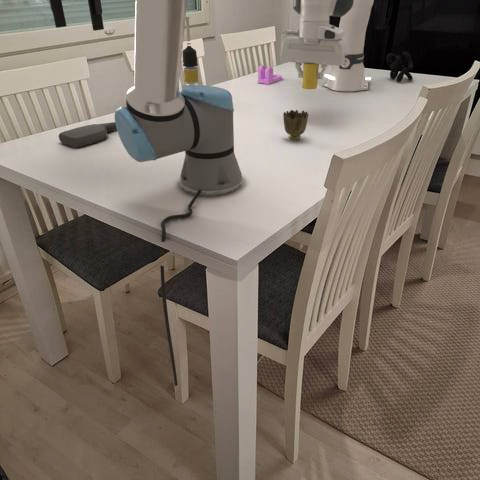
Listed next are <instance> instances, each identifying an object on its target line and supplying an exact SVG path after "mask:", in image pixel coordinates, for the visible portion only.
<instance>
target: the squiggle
mask: <svg viewBox="0 0 480 480" xmlns="http://www.w3.org/2000/svg"><path fill="white" fill-rule="evenodd" d="M401 57H402V59H401ZM391 59H392V60H391ZM393 60H394V61H393ZM385 61H386V64H387V67H390V68H391V70H390V72H389V78H390V79H391V80H395V79H396V81H397V82H399V83H400V82H402V81H403V79H404V76H406V78H407V80H408V81H412V80H413V79H414V77H413V75H412V74H411V73H410V72H409V71H410V70H412V69H413V68H414V64H413V61H412V57H411V54H410V53H409V52H408V51H403V53H402V54H401V55H396V54H394V53H392V52H390V53H387V55H386V57H385ZM406 62H407V65H408V66H407V67H405V66H404V65H405V64H406ZM400 70H401V71H400Z"/></svg>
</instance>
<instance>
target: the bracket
mask: <svg viewBox="0 0 480 480" xmlns="http://www.w3.org/2000/svg"><path fill="white" fill-rule="evenodd" d="M282 79H283V76H282V75H281V74H274V68H273V66H265V65H259V67H258V69H257V83H258V84H265V85H270V84H273V83H276V82H279V81H281V80H282Z"/></svg>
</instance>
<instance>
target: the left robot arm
mask: <svg viewBox="0 0 480 480" xmlns="http://www.w3.org/2000/svg"><path fill="white" fill-rule="evenodd" d="M48 1H49V6H50V10H51V12H52V16H53V22H54V26H55V28H65V27H67V21H66V16H65V11H64V7H63V6H64V5H63V1H62V0H48ZM87 3H88V9H89V15H90V21H91V27H92V31H103V30H105V27H104V21H103V7H102V1H101V0H87ZM187 4H188V0H135V5H134V7H135V10H134V11H135V13H134V15H135V16H134V18H135V19H134V21H135V22H134V75H133V76H134V78H133V79H134V80H133V86H131V87H130V88H129V89H128V90H127V91H126V93H125V94H126V95H125V106H120V107H119V108H117V109H116V110H115V112H114V122H115V124H116V128H117V130H116V131H117V134H118V137H119V140H120V141H121V144H122V145H123V147H124V149H125V151H126V152H127V154H128V155H129V156H130V157H131V158H132V159H133V160H134V161H136V162H139V163H146V162H150V161H157V160H159V159H161V158H166V157H169V156H172V155H176V154H179V153H183V152H184V154H185V155H184V158H183V164H182V168H181V171H180V177H179V178H180V179H179V183H180V184H179V185H180V188H181V189H182V191H184V192H186V193H187V194H190V195H194V196H193V197H192V199H191V201H190V202H189V204H188V205H187V211H188V212H186V213H183V214H174V215H173V214H172V215H169V216H166V217H165V218H164V219H162V220H161V222H160V228H161V239H160V241H161V243H164V242H166V225H165V224H166V223H167V222H169V221H171V220H176V219H185V218H188V217H190V216H192V214H193V209H192V207H193V205H194V203H195V202H196V201H197V199H198V197H221V196H224V195H229V194H232V193H234V192H235V191H237V190H239V189H240V188H241V187H242V185H243V174H242V171H241V168H240V165H239V163H238V160H237V157H236V154H235V133H234V111H235V108H234V102H233V96H232V93H231V91H229V90H227V89H225V88H223V87H218V86H213V85H205V84H204V85H203V84H186V85H183V86H181V87H180V77H181V69H182V60H183V53H182V52H183V47H184V36H185V28H186V23H185V17H187V14H186V13H187ZM159 267H160V269H159V270H160V284H161V285H160V286H161V297H162V307H163V316H164V322H165V328H166V336H167V343H168V348H169V355H170V361H171V369H172V374H173V375H172V376H173V385H174V387H175V386H176V387H177V386H179V383H178V377H177V368H176V361H175V355H174V347H173V342H172V341H173V340H172V334H171V329H170V321H169V313H168V312H169V311H168V303H167V295H166V279H165V266H164V265H161V264H160V265H159Z"/></svg>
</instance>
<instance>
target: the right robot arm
mask: <svg viewBox="0 0 480 480" xmlns="http://www.w3.org/2000/svg"><path fill="white" fill-rule="evenodd" d="M374 2H375V0H293V3H292V4H293V6H292V9H293V10H294V11H295V12H296V13H297V14H298V15H300V17H299V25H298V27H299V28H298V29H286V30H284V31H283V32H282V33H281V37H280V38H281V39H280V42H281V46H280V47H281V48H280V57H279V58H280V60H281V62H283V63H295V68H296V71H297V72H298V73H297V74H298V75H297V77H298V78H300V79H303V68H302V67H301V66H302V65H303V64H304V63H309V64H319V65H320V68H321V71H318V73H317V79H318V80H323V78H324V77H325V78H327V82H324V83H323V87H324V88H327V89H330V90H333V91H338V92H359V91H368V90H369V81H371V79H372V77H366V76H365V73H366V68H365V65H364V58H365V53H364V50H365V49H364V47H365V41H366V33H367V28H368V24H369V20H370V16H371V12H372V8H373V5H374ZM330 17H338V18H340V20H339V24H338V27H337V26H335V25H333V24H330ZM328 66H329V69H328ZM327 69H328V74H326V73H325V72H326V70H327ZM324 73H325V74H324Z"/></svg>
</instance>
